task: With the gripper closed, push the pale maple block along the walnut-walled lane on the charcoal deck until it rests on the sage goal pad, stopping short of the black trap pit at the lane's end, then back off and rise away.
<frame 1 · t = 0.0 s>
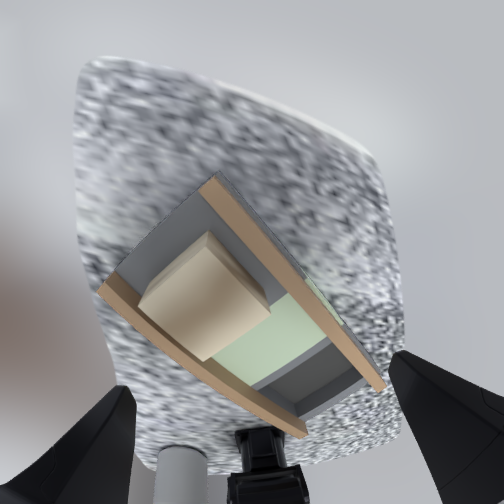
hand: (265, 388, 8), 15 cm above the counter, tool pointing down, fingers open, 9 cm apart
maple block: (206, 286, 20), point 2 cm above the counter, touching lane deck
can: (183, 453, 32), on the counter
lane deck: (264, 327, 25), on the counter
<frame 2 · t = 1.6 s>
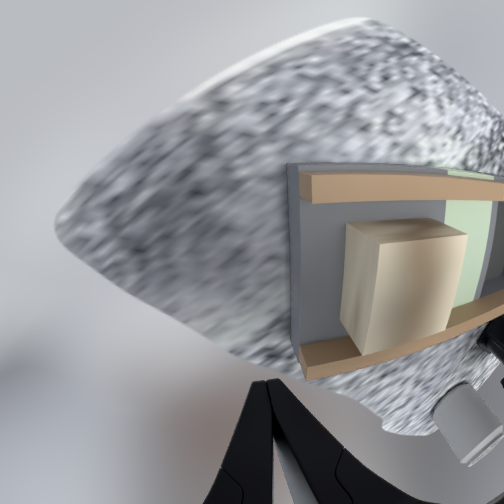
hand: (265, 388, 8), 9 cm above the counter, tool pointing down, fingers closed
maple block: (387, 268, 15), point 2 cm above the counter, touching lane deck
can: (449, 398, 28), on the counter
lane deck: (444, 244, 18), on the counter
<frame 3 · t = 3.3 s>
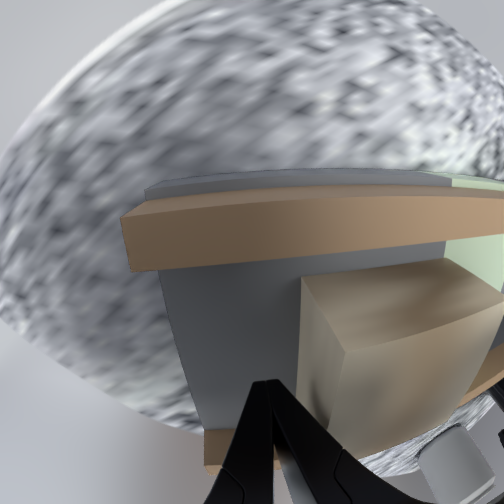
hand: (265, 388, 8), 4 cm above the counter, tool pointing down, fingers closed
maple block: (373, 338, 9), point 3 cm above the counter, touching gripper
can: (438, 440, 22), on the counter
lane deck: (441, 286, 12), on the counter
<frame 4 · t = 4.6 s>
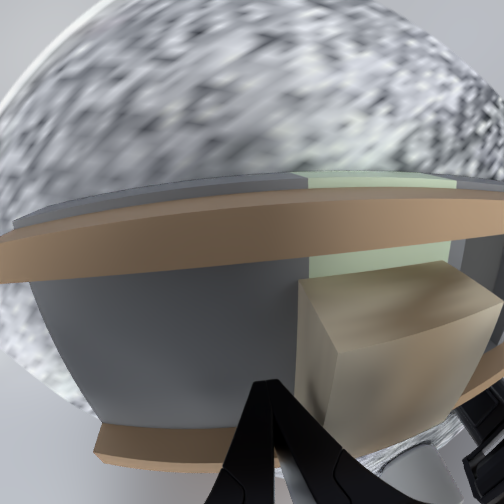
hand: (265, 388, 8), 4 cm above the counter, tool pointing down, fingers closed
maple block: (370, 339, 10), point 2 cm above the counter, touching gripper, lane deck
can: (405, 456, 21), on the counter
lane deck: (354, 304, 12), on the counter
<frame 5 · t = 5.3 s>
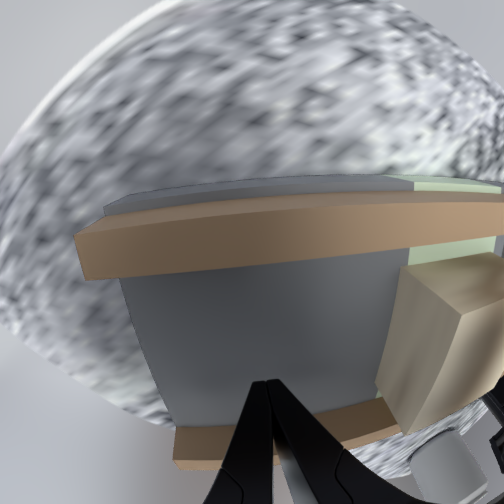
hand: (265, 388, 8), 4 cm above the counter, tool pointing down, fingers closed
maple block: (439, 319, 10), point 2 cm above the counter, touching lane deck
can: (431, 444, 22), on the counter
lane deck: (417, 292, 12), on the counter
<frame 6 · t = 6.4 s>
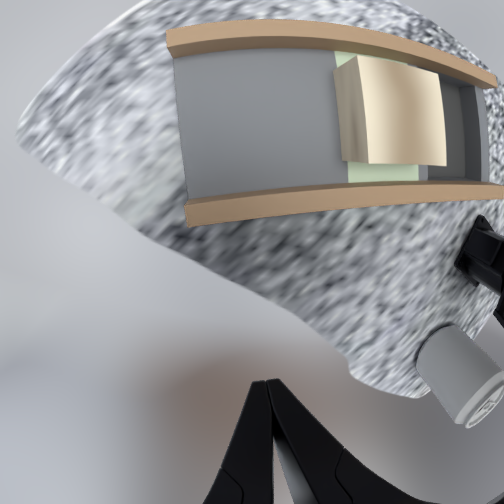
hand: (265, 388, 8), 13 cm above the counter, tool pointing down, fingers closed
maple block: (378, 116, 15), point 2 cm above the counter, touching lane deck
can: (435, 345, 27), on the counter
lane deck: (365, 119, 17), on the counter
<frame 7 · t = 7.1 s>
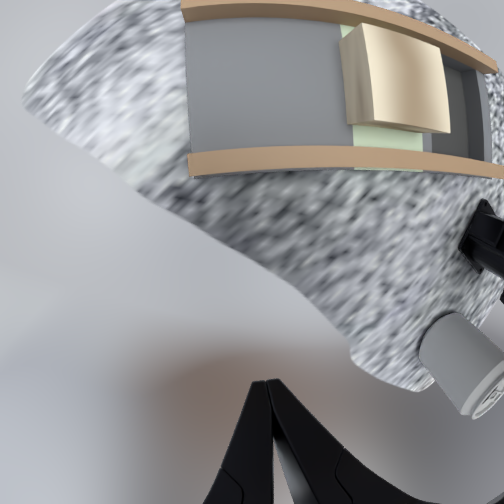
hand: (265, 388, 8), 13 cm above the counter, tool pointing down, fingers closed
maple block: (382, 86, 14), point 2 cm above the counter, touching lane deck
can: (437, 334, 26), on the counter
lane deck: (369, 92, 17), on the counter
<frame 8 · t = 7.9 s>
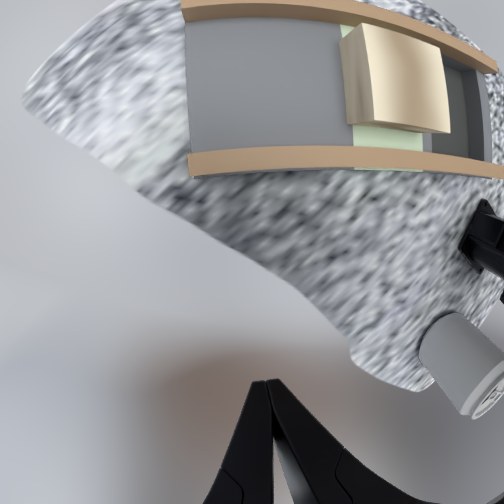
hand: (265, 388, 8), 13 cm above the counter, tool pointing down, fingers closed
maple block: (382, 86, 14), point 2 cm above the counter, touching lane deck
can: (437, 334, 26), on the counter
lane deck: (369, 92, 17), on the counter
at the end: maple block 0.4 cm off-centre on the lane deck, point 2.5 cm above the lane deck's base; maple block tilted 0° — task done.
